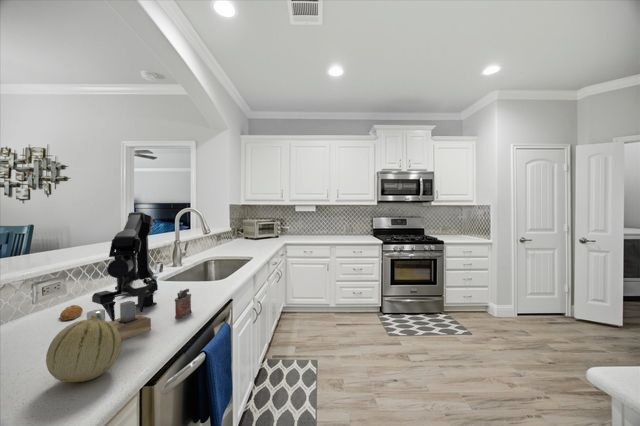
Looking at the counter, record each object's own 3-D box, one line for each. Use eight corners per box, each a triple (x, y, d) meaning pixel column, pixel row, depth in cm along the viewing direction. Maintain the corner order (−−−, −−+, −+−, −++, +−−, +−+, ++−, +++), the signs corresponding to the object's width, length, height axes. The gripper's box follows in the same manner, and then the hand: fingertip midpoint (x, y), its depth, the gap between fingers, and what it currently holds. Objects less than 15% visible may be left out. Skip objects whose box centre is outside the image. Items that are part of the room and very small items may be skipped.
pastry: (80, 319, 114) (80, 309, 114) (57, 323, 110) (57, 313, 110) (83, 312, 122) (83, 303, 122) (61, 315, 118) (61, 306, 118)
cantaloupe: (34, 403, 64) (32, 336, 64) (61, 369, 78) (59, 313, 78) (114, 386, 70) (113, 324, 70) (127, 358, 84) (125, 306, 83)
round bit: (84, 329, 104) (83, 312, 104) (100, 324, 108) (100, 308, 108) (91, 332, 101) (91, 315, 101) (108, 327, 106) (107, 310, 106)
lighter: (180, 319, 113) (180, 293, 113) (172, 318, 114) (172, 292, 113) (193, 311, 121) (193, 287, 121) (186, 311, 121) (185, 287, 121)
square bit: (120, 332, 101) (120, 303, 101) (130, 328, 104) (129, 300, 103) (125, 334, 99) (125, 304, 99) (135, 330, 102) (135, 302, 102)
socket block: (104, 334, 99) (103, 323, 99) (134, 324, 108) (134, 313, 108) (120, 340, 95) (120, 328, 95) (150, 329, 103) (150, 318, 103)
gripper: (109, 280, 89) (110, 331, 89) (166, 268, 105) (167, 311, 106) (90, 276, 94) (91, 324, 95) (148, 265, 111) (149, 306, 111)
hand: (127, 316), depth 101 cm, fingers open, 9 cm apart
